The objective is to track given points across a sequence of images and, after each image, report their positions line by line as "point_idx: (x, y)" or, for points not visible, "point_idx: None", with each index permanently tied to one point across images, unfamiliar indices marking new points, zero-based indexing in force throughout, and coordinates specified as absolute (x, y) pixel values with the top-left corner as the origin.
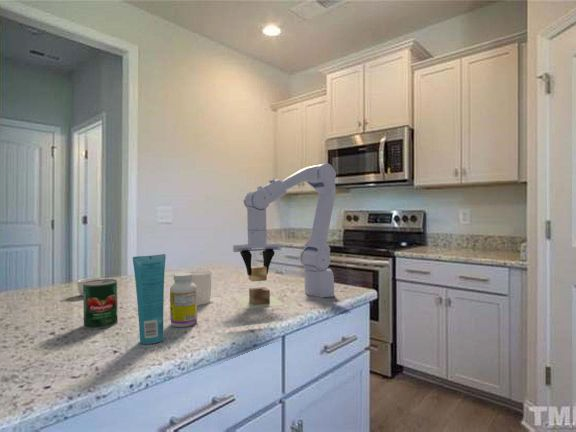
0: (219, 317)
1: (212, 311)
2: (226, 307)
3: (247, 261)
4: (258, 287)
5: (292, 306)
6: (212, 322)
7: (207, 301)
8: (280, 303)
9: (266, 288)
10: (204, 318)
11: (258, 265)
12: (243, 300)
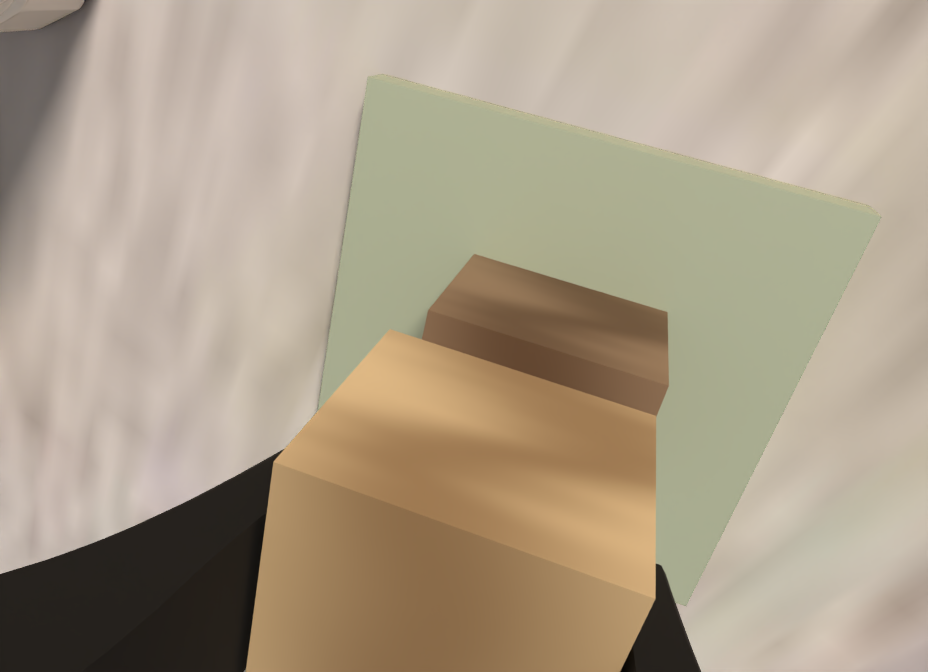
0: (119, 423)
1: (97, 235)
2: (238, 189)
3: None
4: (568, 354)
5: (799, 584)
6: (61, 484)
7: (35, 16)
8: (693, 543)
9: None
10: (22, 373)
11: (537, 563)
12: (434, 174)
